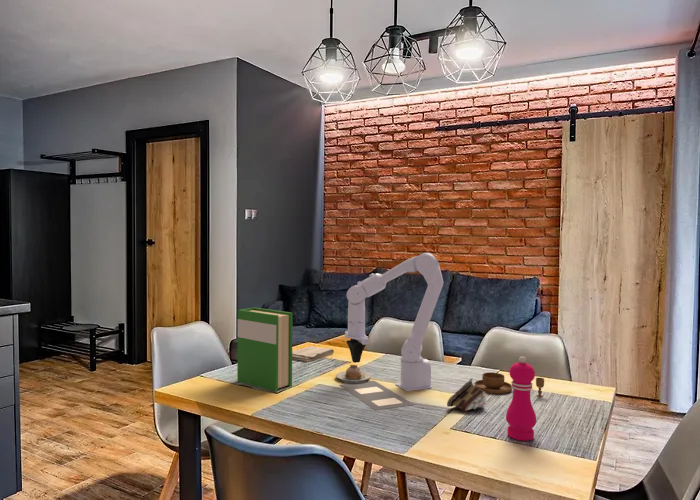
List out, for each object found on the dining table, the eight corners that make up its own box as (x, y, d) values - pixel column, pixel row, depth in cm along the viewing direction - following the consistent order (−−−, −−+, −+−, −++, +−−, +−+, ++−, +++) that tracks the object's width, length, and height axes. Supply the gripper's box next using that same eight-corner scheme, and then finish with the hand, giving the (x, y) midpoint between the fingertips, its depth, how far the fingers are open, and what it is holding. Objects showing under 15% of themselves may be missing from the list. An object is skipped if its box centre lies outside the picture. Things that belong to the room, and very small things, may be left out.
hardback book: (291, 386, 169) (292, 312, 168) (275, 392, 163) (276, 315, 162) (253, 376, 179) (254, 307, 178) (237, 381, 173) (237, 309, 172)
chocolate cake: (465, 415, 143) (490, 382, 147) (445, 402, 148) (469, 371, 152) (471, 431, 149) (495, 399, 153) (452, 418, 154) (475, 387, 158)
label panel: (374, 381, 176) (374, 380, 176) (414, 405, 153) (414, 404, 153) (338, 385, 171) (338, 384, 171) (374, 411, 147) (374, 410, 147)
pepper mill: (501, 430, 134) (502, 353, 133) (528, 430, 134) (530, 352, 133) (512, 442, 126) (514, 360, 126) (541, 441, 127) (543, 359, 126)
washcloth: (284, 359, 205) (284, 352, 205) (310, 351, 221) (310, 343, 221) (309, 364, 199) (309, 356, 199) (334, 354, 215) (334, 347, 215)
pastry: (331, 382, 174) (331, 368, 174) (341, 372, 186) (341, 360, 186) (366, 385, 171) (366, 371, 171) (374, 375, 182) (374, 362, 182)
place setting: (498, 381, 180) (498, 364, 180) (547, 397, 163) (548, 378, 163) (460, 389, 171) (461, 371, 171) (508, 407, 154) (509, 387, 154)
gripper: (336, 318, 179) (336, 358, 179) (354, 325, 165) (354, 368, 166) (355, 317, 182) (355, 356, 182) (374, 324, 168) (374, 366, 169)
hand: (356, 362), depth 174 cm, fingers closed
